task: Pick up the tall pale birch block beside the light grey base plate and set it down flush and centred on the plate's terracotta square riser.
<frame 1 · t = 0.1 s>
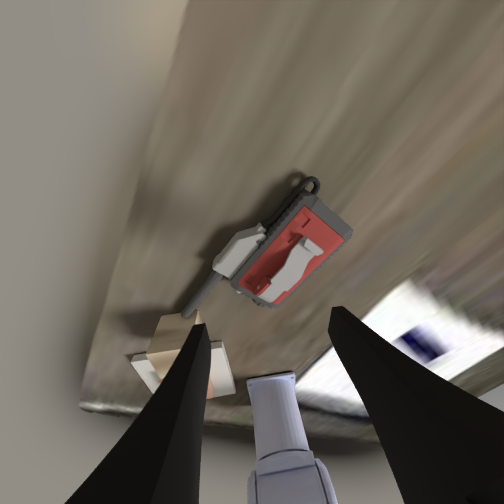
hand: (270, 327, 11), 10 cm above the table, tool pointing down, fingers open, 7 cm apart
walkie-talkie: (257, 262, 21), on the table
base plate: (190, 372, 29), on the table
birch block: (185, 324, 24), on the table
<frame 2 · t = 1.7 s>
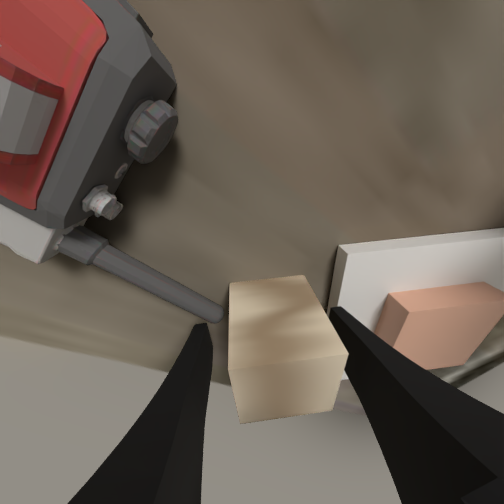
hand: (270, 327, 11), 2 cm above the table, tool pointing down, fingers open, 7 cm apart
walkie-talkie: (69, 128, 7), on the table, touching gripper
base plate: (406, 311, 14), on the table
birch block: (267, 305, 12), on the table
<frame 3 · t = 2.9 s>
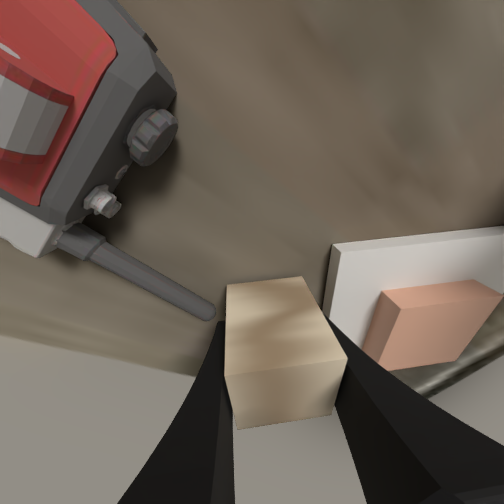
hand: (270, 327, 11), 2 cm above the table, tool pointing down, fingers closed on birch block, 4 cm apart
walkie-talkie: (72, 129, 8), on the table
base plate: (400, 308, 14), on the table
birch block: (265, 308, 12), on the table, touching gripper
when the fingers open (4 cm above the table, at t = 6.2 s): birch block stays where it is, resting on base plate.
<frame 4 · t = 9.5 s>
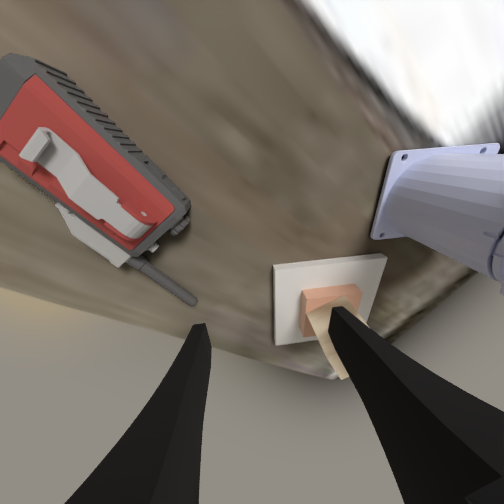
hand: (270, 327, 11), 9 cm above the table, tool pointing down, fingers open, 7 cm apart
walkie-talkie: (141, 211, 17), on the table
base plate: (321, 300, 23), on the table
birch block: (331, 316, 21), point 2 cm above the table, touching base plate
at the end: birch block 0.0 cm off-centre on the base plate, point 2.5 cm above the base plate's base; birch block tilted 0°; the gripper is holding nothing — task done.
